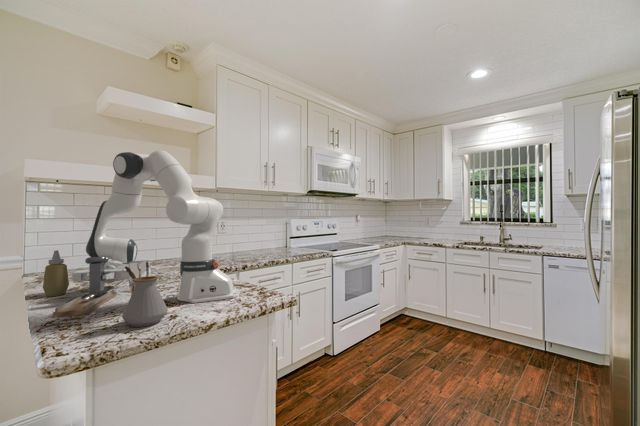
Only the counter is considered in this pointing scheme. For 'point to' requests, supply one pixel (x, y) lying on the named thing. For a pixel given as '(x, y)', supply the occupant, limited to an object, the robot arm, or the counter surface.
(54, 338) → the counter surface
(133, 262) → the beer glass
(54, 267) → the squeeze bottle
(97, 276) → the handle
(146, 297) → the coffee pot
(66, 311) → the track
